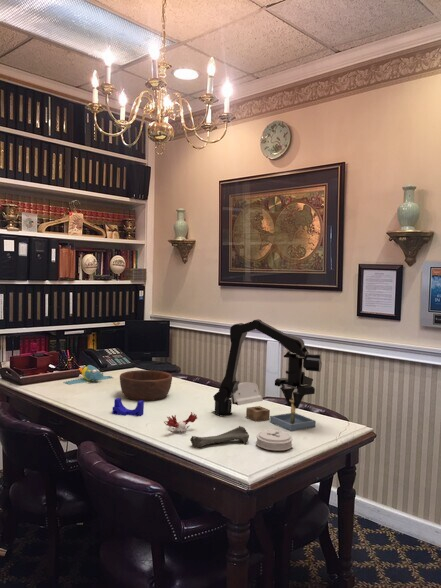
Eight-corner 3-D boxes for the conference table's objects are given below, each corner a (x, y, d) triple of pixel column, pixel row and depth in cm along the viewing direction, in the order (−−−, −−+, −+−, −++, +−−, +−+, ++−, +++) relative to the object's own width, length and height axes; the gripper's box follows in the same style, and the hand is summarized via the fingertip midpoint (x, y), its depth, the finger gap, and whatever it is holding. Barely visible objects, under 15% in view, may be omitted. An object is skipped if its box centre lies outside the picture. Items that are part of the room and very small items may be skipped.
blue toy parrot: (105, 360, 281) (121, 365, 271) (104, 375, 282) (120, 381, 272) (59, 365, 261) (74, 371, 251) (59, 382, 262) (74, 388, 251)
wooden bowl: (108, 398, 232) (109, 376, 231) (136, 387, 255) (137, 368, 255) (155, 405, 222) (156, 383, 222) (180, 394, 246) (181, 373, 245)
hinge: (237, 405, 229) (233, 383, 231) (231, 406, 232) (227, 385, 234) (263, 400, 239) (259, 379, 242) (256, 401, 243) (252, 381, 245)
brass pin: (292, 424, 200) (293, 401, 199) (286, 422, 203) (287, 398, 202) (298, 423, 202) (299, 400, 201) (293, 421, 204) (294, 397, 204)
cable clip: (112, 414, 206) (112, 400, 206) (117, 411, 211) (117, 397, 211) (138, 417, 203) (139, 403, 203) (143, 414, 208) (143, 400, 207)
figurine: (184, 423, 197) (185, 407, 197) (203, 431, 188) (204, 414, 188) (153, 430, 187) (153, 413, 187) (171, 439, 178) (172, 420, 178)
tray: (290, 431, 193) (290, 424, 193) (270, 422, 204) (270, 416, 204) (315, 426, 200) (315, 420, 200) (294, 418, 211) (294, 412, 211)
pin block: (255, 421, 204) (256, 412, 204) (246, 417, 210) (246, 407, 210) (269, 419, 208) (269, 410, 208) (259, 415, 214) (259, 406, 214)
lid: (282, 456, 167) (283, 441, 167) (249, 447, 174) (250, 433, 173) (297, 445, 177) (298, 432, 177) (266, 438, 184) (266, 425, 184)
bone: (244, 439, 183) (244, 422, 182) (252, 444, 177) (253, 427, 177) (188, 445, 173) (188, 428, 173) (195, 451, 168) (195, 433, 167)
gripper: (325, 372, 198) (323, 410, 198) (295, 363, 213) (293, 399, 214) (304, 374, 192) (302, 413, 192) (274, 365, 207) (273, 402, 208)
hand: (293, 407), depth 202 cm, fingers open, 4 cm apart
